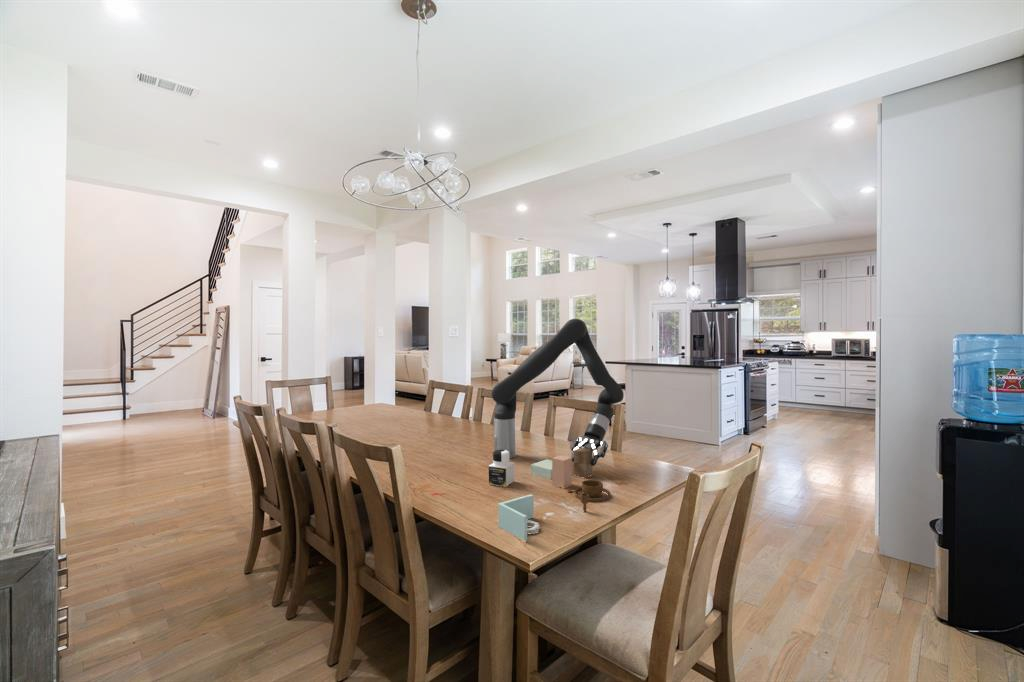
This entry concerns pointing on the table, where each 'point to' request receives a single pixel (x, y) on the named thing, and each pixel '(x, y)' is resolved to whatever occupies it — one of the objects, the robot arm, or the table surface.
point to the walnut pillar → (582, 462)
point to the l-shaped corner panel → (517, 516)
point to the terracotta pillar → (562, 471)
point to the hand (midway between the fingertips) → (582, 463)
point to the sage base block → (542, 468)
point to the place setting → (591, 492)
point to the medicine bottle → (501, 469)
